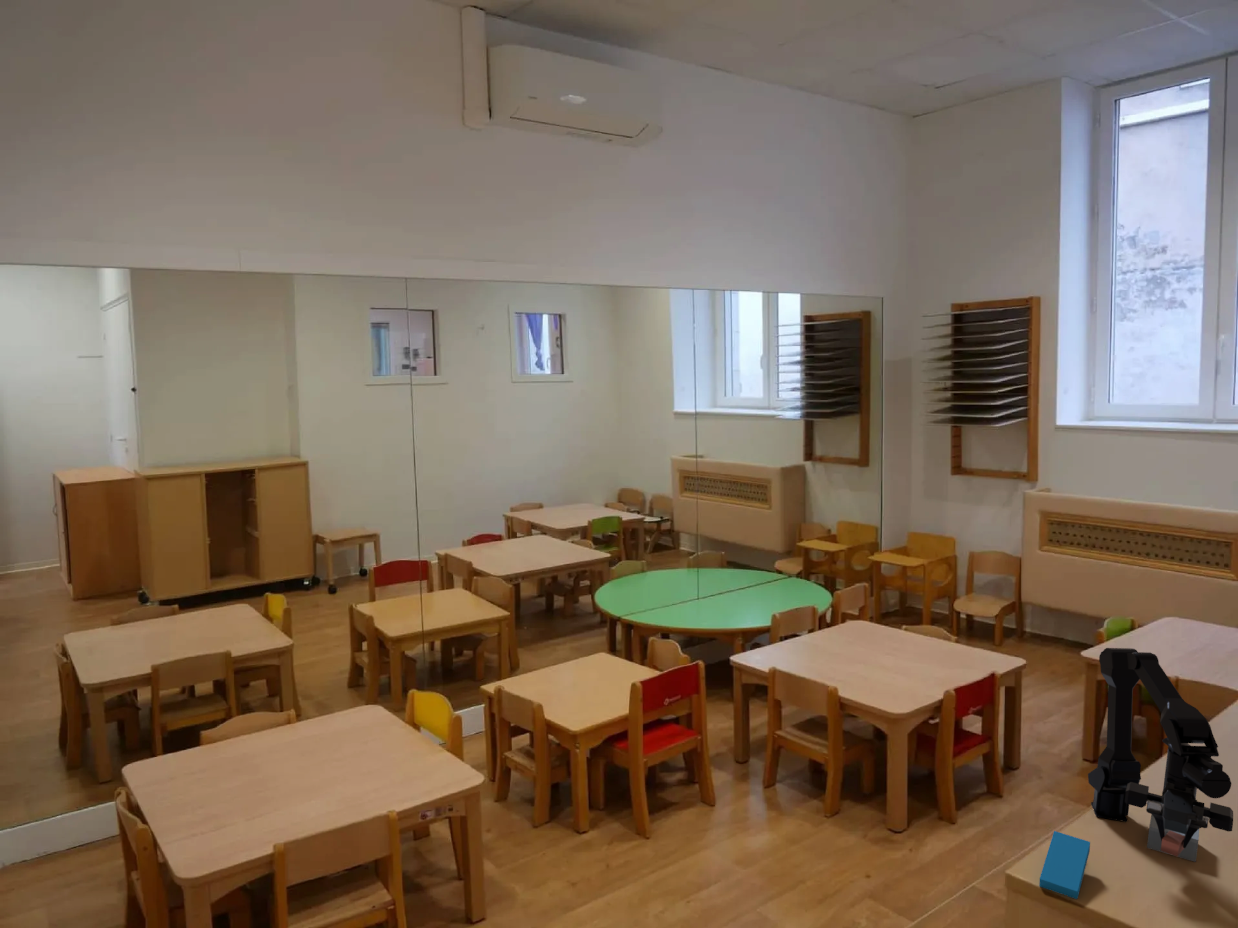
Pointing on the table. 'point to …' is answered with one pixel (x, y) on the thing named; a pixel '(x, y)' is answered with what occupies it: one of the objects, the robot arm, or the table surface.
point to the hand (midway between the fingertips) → (1173, 843)
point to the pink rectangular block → (1172, 843)
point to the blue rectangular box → (1065, 864)
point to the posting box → (1176, 827)
